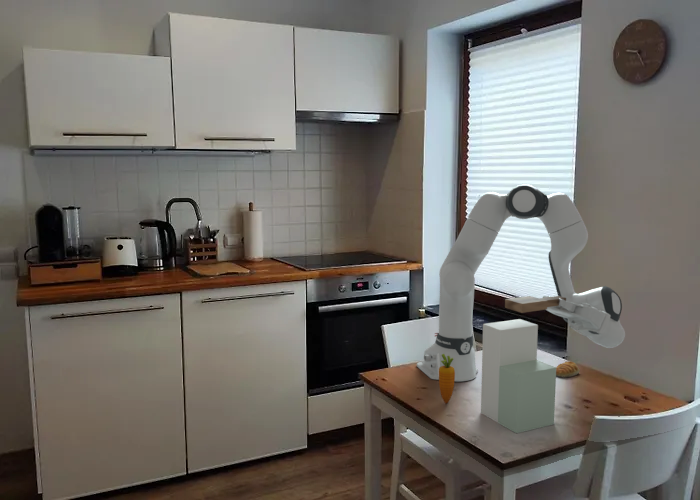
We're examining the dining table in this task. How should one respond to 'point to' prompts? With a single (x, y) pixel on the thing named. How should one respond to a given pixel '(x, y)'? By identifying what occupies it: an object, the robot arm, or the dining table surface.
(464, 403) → the dining table surface
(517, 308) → the brown block
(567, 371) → the pastry
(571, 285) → the robot arm
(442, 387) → the carrot
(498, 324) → the white two-tone stepped block
